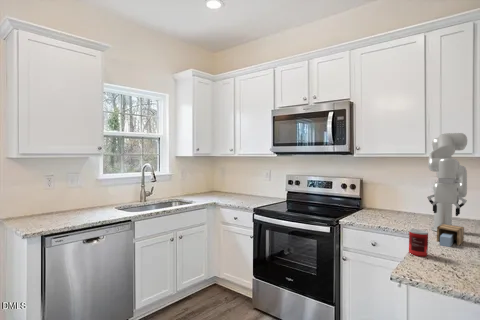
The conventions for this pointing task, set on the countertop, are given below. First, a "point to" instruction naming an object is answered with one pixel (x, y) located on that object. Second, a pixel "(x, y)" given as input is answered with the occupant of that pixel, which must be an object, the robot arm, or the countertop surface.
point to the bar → (446, 239)
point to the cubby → (451, 232)
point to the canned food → (418, 242)
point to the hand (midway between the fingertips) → (445, 214)
